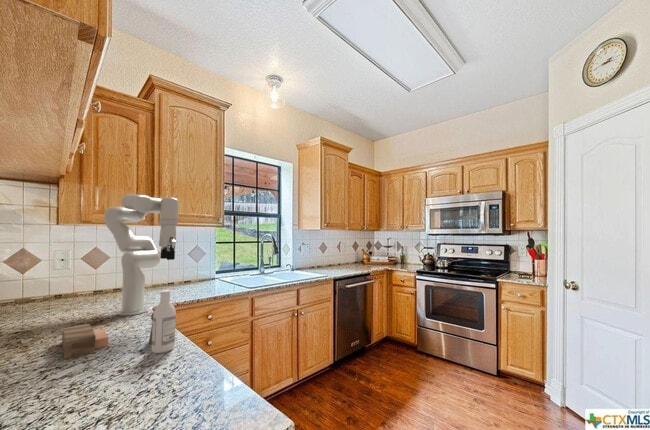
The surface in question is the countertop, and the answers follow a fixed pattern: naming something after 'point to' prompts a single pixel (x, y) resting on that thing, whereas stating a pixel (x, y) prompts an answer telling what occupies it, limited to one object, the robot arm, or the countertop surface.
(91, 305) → the countertop surface
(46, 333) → the countertop surface
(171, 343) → the bath foam
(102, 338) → the tile
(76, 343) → the shelf
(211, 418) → the countertop surface
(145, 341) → the countertop surface
